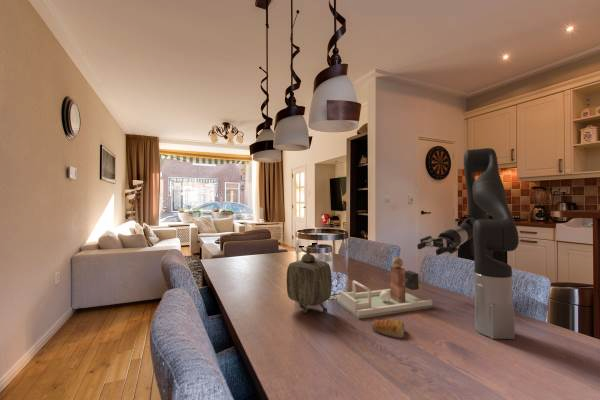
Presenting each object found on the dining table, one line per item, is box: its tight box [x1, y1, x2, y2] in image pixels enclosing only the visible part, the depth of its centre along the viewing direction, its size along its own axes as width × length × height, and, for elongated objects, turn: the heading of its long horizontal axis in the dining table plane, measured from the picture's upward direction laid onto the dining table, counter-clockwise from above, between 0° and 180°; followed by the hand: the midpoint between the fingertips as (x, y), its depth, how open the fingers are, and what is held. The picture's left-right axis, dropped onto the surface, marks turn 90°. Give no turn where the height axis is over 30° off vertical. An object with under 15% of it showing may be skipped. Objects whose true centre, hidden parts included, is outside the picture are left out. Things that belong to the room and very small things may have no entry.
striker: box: [389, 256, 420, 302], centre depth 111 cm, size 10×5×16 cm, turn 107°
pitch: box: [336, 288, 433, 320], centre depth 108 cm, size 30×17×2 cm, turn 107°
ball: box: [380, 291, 391, 302], centre depth 109 cm, size 4×4×4 cm
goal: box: [338, 280, 372, 313], centre depth 105 cm, size 7×13×8 cm, turn 17°
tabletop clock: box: [286, 244, 333, 314], centre depth 103 cm, size 14×9×25 cm, turn 51°
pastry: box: [371, 318, 406, 339], centre depth 87 cm, size 9×7×4 cm
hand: (427, 249), depth 114 cm, fingers open, 8 cm apart
